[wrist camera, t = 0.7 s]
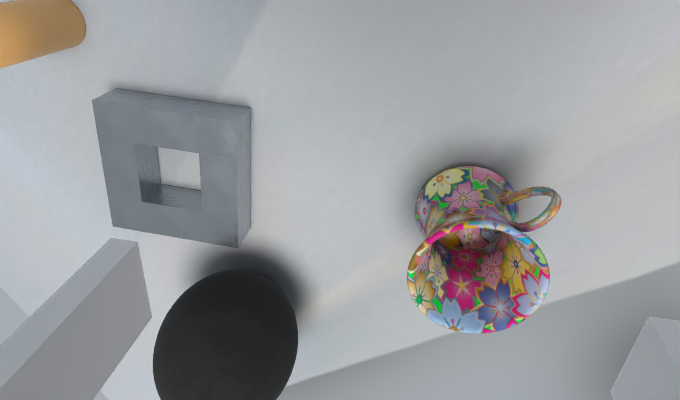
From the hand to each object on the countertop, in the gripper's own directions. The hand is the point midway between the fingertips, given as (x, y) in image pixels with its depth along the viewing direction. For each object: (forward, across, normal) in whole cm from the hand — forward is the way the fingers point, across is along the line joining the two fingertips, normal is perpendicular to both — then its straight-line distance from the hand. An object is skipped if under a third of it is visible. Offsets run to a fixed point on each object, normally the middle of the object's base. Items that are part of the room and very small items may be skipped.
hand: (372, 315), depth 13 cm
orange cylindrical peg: (+28, -28, +1) cm, 40 cm away
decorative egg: (+27, -13, -25) cm, 39 cm away
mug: (+28, +7, -10) cm, 30 cm away
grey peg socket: (+27, -19, -10) cm, 35 cm away
